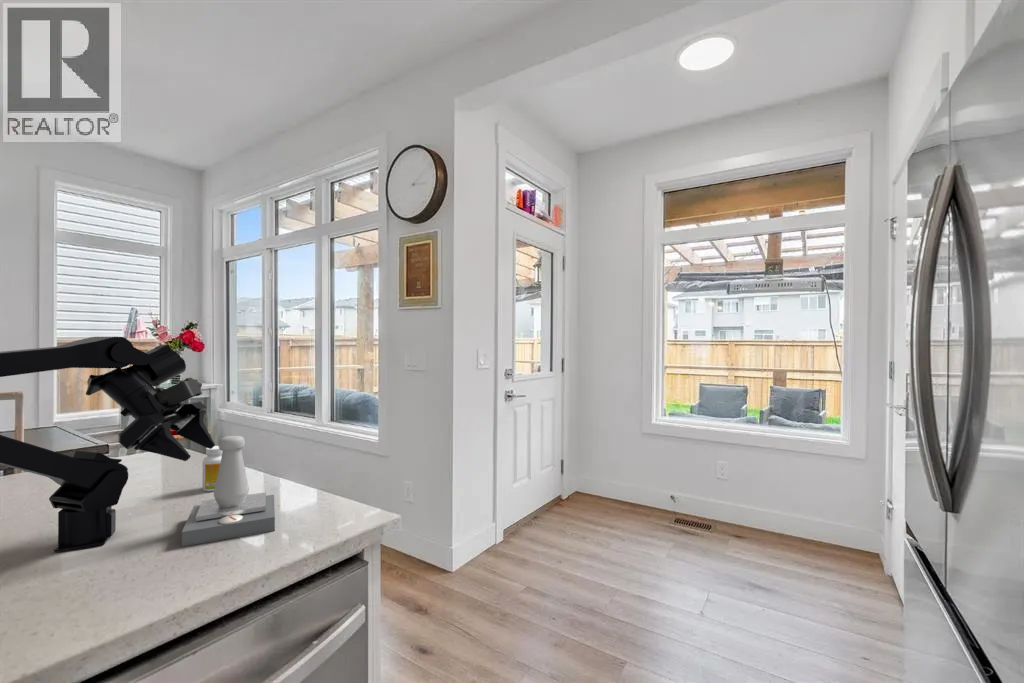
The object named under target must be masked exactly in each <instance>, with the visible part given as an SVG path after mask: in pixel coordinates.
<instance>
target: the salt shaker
mask: <svg viewBox="0 0 1024 683" xmlns="http://www.w3.org/2000/svg"><path fill="white" fill-rule="evenodd" d="M245 443H246V442H245V438H244V437H243V436H242V435H227V436H223V437H222V438H220V439H219V440H218V443H217V444H218V445H217V446H219V449H220V450H222V451H223V452H222V457H221V463H220V467H219V472H218V476H217V481H216V485H215V489H214V491H213V498H214V499H215V500H216V501H217V503H218V505H219V507H224V508H229V507H234V506H239V505H241V504H242V503H244V502H245V499H246V497H247V495H249V492H250V486H249V483H248V477H247V473H246V468H245V462H244V456H243V450H242V449H243V448H245V446H246V445H245Z"/></svg>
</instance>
